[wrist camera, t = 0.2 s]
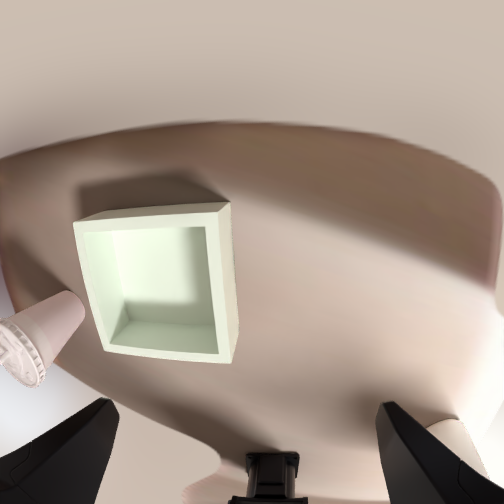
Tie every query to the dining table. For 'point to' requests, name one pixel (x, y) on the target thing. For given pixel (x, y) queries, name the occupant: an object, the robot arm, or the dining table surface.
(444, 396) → the dining table surface
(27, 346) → the smoothie
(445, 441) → the alcohol
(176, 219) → the bin
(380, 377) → the dining table surface
